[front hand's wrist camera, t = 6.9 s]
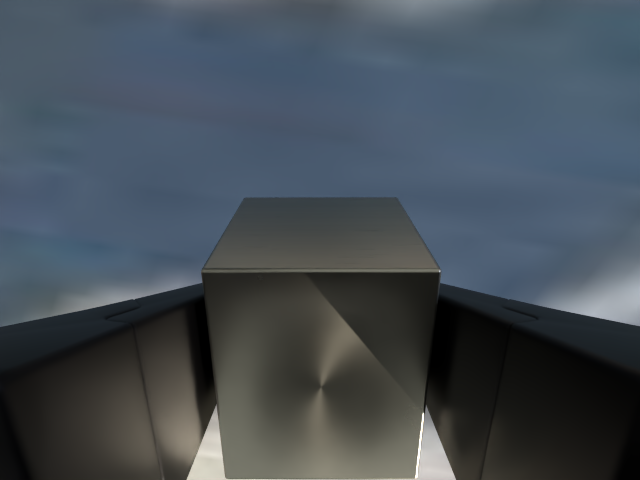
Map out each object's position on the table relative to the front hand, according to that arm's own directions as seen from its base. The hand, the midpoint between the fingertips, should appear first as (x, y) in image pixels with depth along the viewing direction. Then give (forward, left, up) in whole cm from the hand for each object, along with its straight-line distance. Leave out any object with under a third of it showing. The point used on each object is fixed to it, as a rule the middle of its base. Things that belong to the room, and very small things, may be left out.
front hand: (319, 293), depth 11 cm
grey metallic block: (0, 0, -1) cm, 1 cm away
